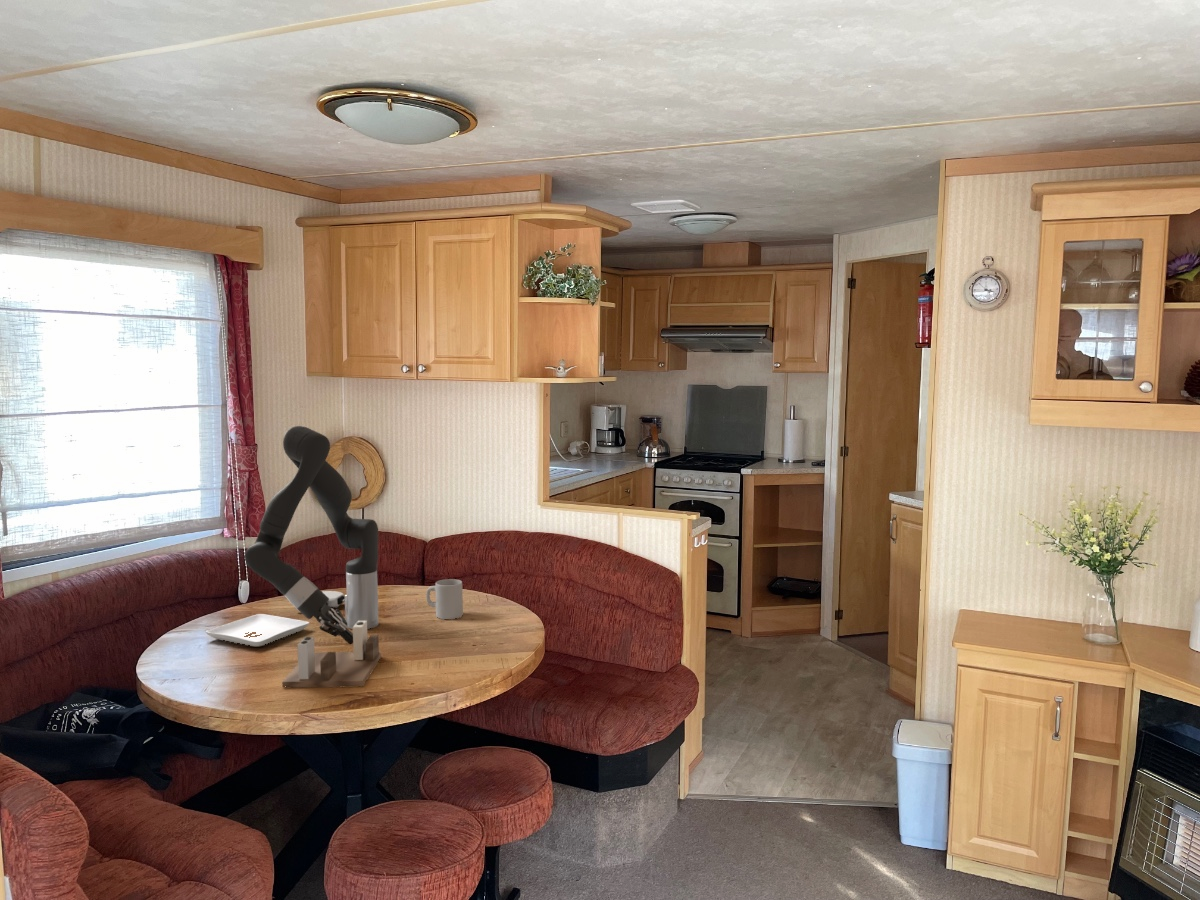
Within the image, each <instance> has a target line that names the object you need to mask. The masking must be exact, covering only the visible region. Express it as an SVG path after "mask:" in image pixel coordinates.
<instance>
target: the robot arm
mask: <svg viewBox="0 0 1200 900" xmlns="http://www.w3.org/2000/svg"><path fill="white" fill-rule="evenodd" d="M283 436H284V437H283V440H282V446H283V450H284V453H285V455H287V457H288V458H289V459H290V461H291V463H293V464H294V465H295V466H296V468H297V471H296V473H295V475H294V477H293V478H292V479H291V480H290V481H289V482H288V483H287V484H286V485H285V486H284V487H283V488H281V489H280V490H279V491H277V493H276V494H275V495H274V496H273V497H272V499H271V500H270V501H269V502H268V505H267V507H266V509H265V511H264V514H263V516H262V518H261V520H260V524H259V533H258V534H257V537H256V539H255V541H254V544H252V545H250V546H249V547H248V548H247V549H246V550H245V553H244V560H245V563H246V565H247V567H248V568H249V569H251V570H252V572H254V573H255V574H257V575H258V576H260V577H261V578H262V579H264V580H266V581H267V582H269V584H272V585H273V586H274V588H275V589H276V590H278V591H279V593H280V594H282V595H283V596H284V597H285V598H286V599H287V600H288V602H289V603H290V604H291V605H292V606H294V608H295V607H296V608H297V609H296V610H297V611H298V612H300V613H301V615H303V616H304V617H305V618H306V619H308V620H311V619H312V618H313V617H314V619H316V620H317V622H318V623H319V624H320V626H319V629H320V631H322V632H325V633H326V634H329V635H331V636H333V637H341V638H342V639H343V640H344V641H346V643H348V645H353V631H351V630H353V626H354V625H355V624H356V623H357V621H367V630H370V628H371V629H375V628H376V627H378V626H379V625H380V624H379V622H380V620H379V595H378V594H379V593H378V592H379V591H378V590H379V589H378V588H379V587H378V560H379V527H378V526H379V525H378V524H377V522H376V521H375V520H374V519H370V518H352V517H350V516H349V514H348V513H347V512H348V510H349V508H350V506H351V503H352V499H353V497H352V495H353V494H352V492H351V489H350V487H349V486H348V484H347V481H346V480H345V478H344V477H343V476H342V475H341V474H340V472H338V471H337V469H335V468H334V467H333V466H332V465H331V464H330V463H329V462H328V461H327V458H328V456H329V454H330V450H331V442H330V440H329V438H328V437H327V436H326V435H324V434H323V433H320V432H318V431H316V430H314V429H311V428H309V427H306V426H302V425H297V426H296V425H295V426H292V427H291V428H289V429H288V430H286V431H285V434H284V435H283ZM309 488H310V489H311V491H312V492H313V495H314V497H315V498H316V500H317V502H318V503H319V505H320V506H321V508H322V509H323V512H325V515H326V517H327V518H328V519H329V521H330V523H331V525H332V528H333V530H334V533H335V535H336V537H337V539H338V541H339V542H340V545H341V546H343V548H346V549H350V550H361V556H359V557H356V558H354V559H351V560H348V561H347V562H346V564H345V579H346V581H345V582H346V585H345V586H346V594H344V596H345V602H344V615H345V617H344V615H343V614H342V612H341V610H340V609H339V608H336V609H334V608H333V607H330V606H328V605H327V604H326V603H327V602H328V601H329V598H328V597H327V596H326V595H325V594H324V593H323V592H322V591H323V590H321V589H320V588H318V586H316V585H315V584H314V583H313V582H312V581H311V580H309V579H308V578H307V577H306V576H305V575H303V574H302V573H301V572H300V571H299V570H298V569H297V568H296V567H294V565H292V564H290V563H286V562H284V561H283V560H282V559H281V558H280V557H279V554H280V551H281V548H282V545H283V541H284V538H285V534H286V532H287V531H288V529H289V526H290V525H291V521H292V519H293V517H294V515H295V512H296V510H297V508H298V506H299V504H300V503H301V500H302V499H303V497H304V496H305V494H306V493H307V490H308V489H309ZM346 625H347V626H346ZM349 629H350V630H349Z"/></svg>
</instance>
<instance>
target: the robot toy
mask: <svg viewBox="0 0 1200 900" xmlns="http://www.w3.org/2000/svg"><path fill="white" fill-rule="evenodd" d="M321 591H322V592H323V593H324V594H325V595H326V596H327V597H328V598H329V601H328V602H327V603H326V604H327V605H328V606H330V607H331V608H333V609H334V608H336V609H337V608H338V607H340V606H341V605H342V604H345V594H344V592H341V591H336V590H335V591H334V590H321ZM295 609H296V610H298V609H297V608H296V607H295V606H294V610H295Z"/></svg>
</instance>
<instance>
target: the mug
mask: <svg viewBox="0 0 1200 900" xmlns="http://www.w3.org/2000/svg"><path fill="white" fill-rule="evenodd" d="M431 592H435V601H432V600H431ZM425 595H426V603H427V605H429V607H431V608H435V617H436V618H437V617H438V618H437V619H439V618H440V619H439V620H444V619H451V620H456V619H455V618H457V619H460V618H462V617H463V616H464V605H463V604H464V603H463V602H464V601H463V597H464V596H463V581H462V580H460V579H455V578H449V579H448V578H445V579H440V580H437V581H435V585H431V586H428V588H427V589H426V594H425ZM462 615H463V616H462ZM461 616H462V617H461ZM459 617H460V618H459Z"/></svg>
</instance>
